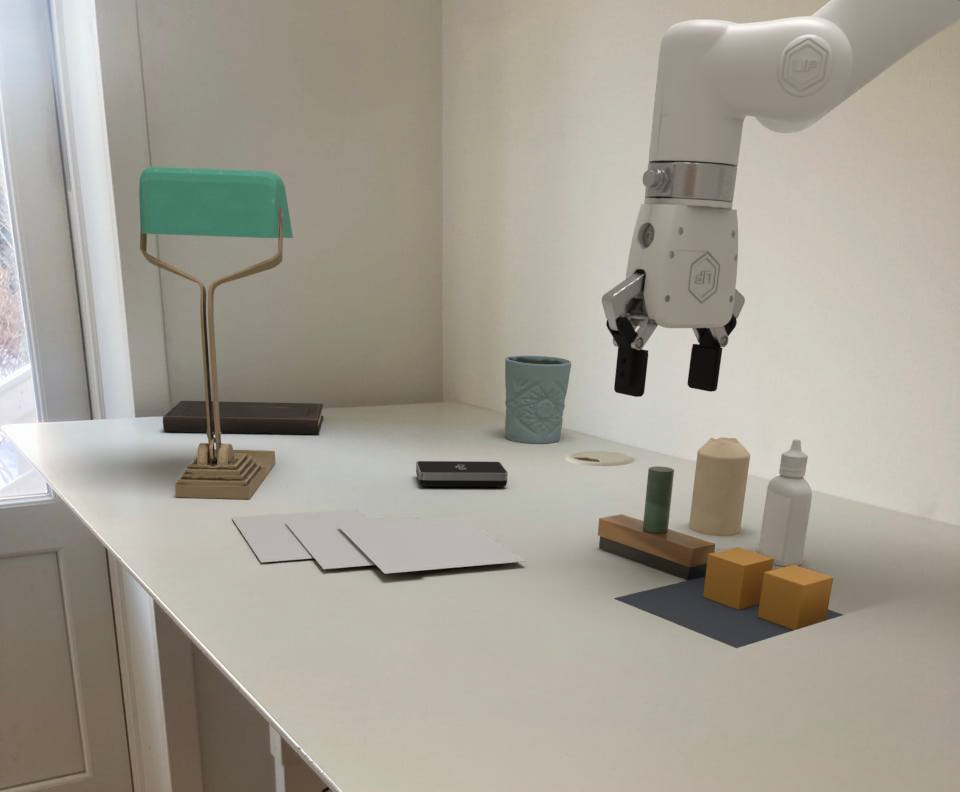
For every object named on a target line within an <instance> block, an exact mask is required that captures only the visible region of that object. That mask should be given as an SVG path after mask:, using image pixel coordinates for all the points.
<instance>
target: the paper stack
mask: <svg viewBox="0 0 960 792" xmlns="http://www.w3.org/2000/svg"><path fill="white" fill-rule="evenodd" d="M231 519H232V521H233V522H234V524H235V525H236V527H237V528H238V530H239V531H240V533H241V534H242V536H243V537H244V539H245V541H246V542H247V543H248V545H249V547H250V548H251V549H252V551H253V552H254V554H255V556H256V557H257V559H258V560H259V562H260V563H273V562H287V561H298V560H311V559H314V560H315V561H316V562H317V564H318V565H319V566H320V567H321V568H322V569H323V570H334V569H344V568H345V569H346V568H356V567H368V566H376V567H377V568H378V569H379V570H380V571H381V572H382V573H383V574H384V575H386V574H400V573H409V572H420V571H421V572H422V571H431V570H432V571H433V570H444V569H455V568H465V567H477V566H478V567H479V566H489V565H501V564H512V563H522V562H523V563H524V562H526V560H525V559H524V558H523V557H521V556H520V555H518V554H517V553H515V552H514V551H513V550H511V549H510V548H508V547H507V546H505V545H504V544H503V543H501V542H500V541H499V540H497V539H495V538H494V537H492V536H491V535H490V534H488V533H487V532H485V531H484V530H483V529H481V528H480V527H478V526H477V525H475V524H474V523H473V522H471V521H470V520H468V519H467V518H465V517H464V516H453V517H452V516H450V517H437V518H424V519H423V518H421V519H417V517H415V516H414V515H413V514H411V513H406V514H391V515H373V516H372V515H371V516H365V515H364V514H363V513H362V512H361V511H360V510H359V509H358V508H356V509H341V510H339V509H338V510H324V511H322V510H321V511H307V512H294V513H293V512H292V513H291V512H290V513H278V514H277V513H275V514H262V515H244V516H231Z"/></svg>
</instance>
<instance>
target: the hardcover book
mask: <svg viewBox="0 0 960 792" xmlns="http://www.w3.org/2000/svg"><path fill="white" fill-rule="evenodd" d="M211 403H212V419H213V432H215V424H214V407H213V400H211ZM323 407H324V403H311V402H310V403H308V402H266V401H265V402H264V401H263V402H260V401H220V400H219V416H220V432H221V433H222V434H255V435H256V434H259V435H261V434H263V435H309V436H310V435H311V436H312V435H315V436H316V435H317V436H319V435H320V431H321V427H322V424H323V421H324V415H323V414H322V411H323ZM162 427H163V432H164V433H201V434H203V433H204V434H207V412H206V400H180V401H179V402H178V403H177V404H176V405H175V406H174V407H173V408H171V409H170V410H169V411H168V412H167V413H166V414H165V415H164V416H162Z"/></svg>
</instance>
